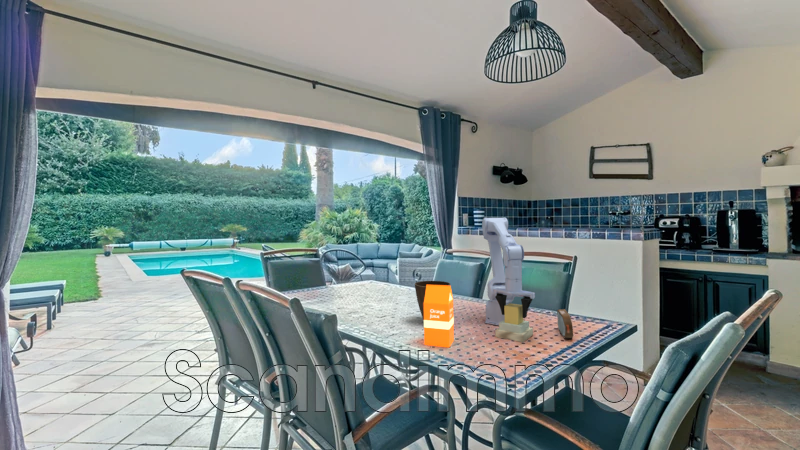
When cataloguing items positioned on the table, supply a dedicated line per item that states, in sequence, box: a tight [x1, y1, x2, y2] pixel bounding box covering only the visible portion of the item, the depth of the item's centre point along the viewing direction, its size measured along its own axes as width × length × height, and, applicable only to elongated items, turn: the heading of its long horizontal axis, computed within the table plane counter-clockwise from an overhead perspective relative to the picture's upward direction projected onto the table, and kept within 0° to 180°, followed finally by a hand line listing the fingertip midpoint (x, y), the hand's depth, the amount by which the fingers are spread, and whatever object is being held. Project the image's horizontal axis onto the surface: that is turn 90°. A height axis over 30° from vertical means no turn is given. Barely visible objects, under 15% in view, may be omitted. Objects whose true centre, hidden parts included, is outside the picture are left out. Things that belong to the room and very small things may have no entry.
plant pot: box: [414, 280, 451, 321], centre depth 148 cm, size 15×15×16 cm
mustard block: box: [504, 302, 524, 325], centre depth 128 cm, size 5×5×6 cm
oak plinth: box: [494, 326, 534, 343], centre depth 128 cm, size 10×10×2 cm
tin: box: [556, 308, 574, 339], centre depth 129 cm, size 15×3×8 cm, turn 166°
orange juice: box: [423, 285, 455, 348], centre depth 123 cm, size 8×9×20 cm
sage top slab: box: [498, 319, 530, 334], centre depth 128 cm, size 8×8×2 cm
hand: (514, 315), depth 128 cm, fingers open, 7 cm apart
